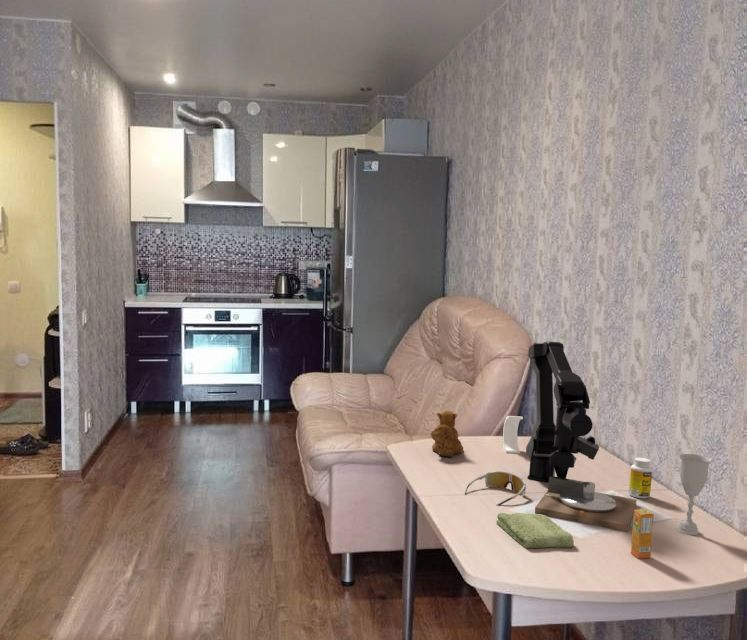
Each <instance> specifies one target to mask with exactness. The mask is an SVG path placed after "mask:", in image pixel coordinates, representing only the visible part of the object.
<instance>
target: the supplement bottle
mask: <svg viewBox="0 0 747 640" xmlns="http://www.w3.org/2000/svg"><path fill="white" fill-rule="evenodd" d="M653 471H654V470H653V468H652V467H651V460H650V459H649V458H646V457H645V458H644V457H635V459H634V464H632V465H631V466H630V475H629V477H630V478H629V485H628V487H629V488H628V494H629V496H631V497H633V498H637V499H643V500H644V499H645V500H646V499H648V498H649V497H650V496H651V489H652V479H653Z"/></svg>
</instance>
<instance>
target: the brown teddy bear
mask: <svg viewBox="0 0 747 640" xmlns="http://www.w3.org/2000/svg"><path fill="white" fill-rule="evenodd" d="M436 416H437V418H438V419H437V421H439V425H437V426H436V427H435V428H434V429H433V430H432V431H431V432H430V433H429V434H430V435H431V436H430V438H431V439H432V440H433V441H434V443H433V444H432V446H431V450H432V451H433V452H434V453H437V454H439V456H441V457H449V458H452V457H453V456H454V455H459V454H462V453H463V451H464V446H463V445H462V442H461V441H460V439H459V432H458V430H457V429H456V427H455V425H456V419H457V417H458V413H456V412H452V411H450V410H445V411H442V412H441V413H440V412H437V413H436Z"/></svg>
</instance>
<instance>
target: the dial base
mask: <svg viewBox="0 0 747 640" xmlns="http://www.w3.org/2000/svg"><path fill="white" fill-rule="evenodd" d="M596 492H597V491H596ZM597 493H599V492H597ZM600 493H601V494H604V495H607V496H609V497H611V498H613V499H614V500H615V501H616V509H614V510H613V511H609V512H590V511H583V510H579V509H575V508H572V507H569V506H567V505H565V504H563V503H562V502H561V501H560V500H559V497H560V494H555V493H549V492H548V490H546V492H545V494H544V495H543V497H542V498H541V499H540V500H539V502H538V503H537V504H536V505H535V507H534V514H541V515H545V516H547V517H553V518H558V519H563V520H568V521H572V522H573V521H574V522H578V523H583V524H588V525H591V526H592V525H593V526H597V527H603V528H607V529H612V530H613V529H614V530H618V531H623V532H628V531H629V527H630V525H631V522H632V520H633V519H632V518H633V517H634V510H636V507H637V499H635V498H630V497H625V496H619V495H613V494H608V493H602V492H600Z"/></svg>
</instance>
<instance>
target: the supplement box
mask: <svg viewBox="0 0 747 640" xmlns="http://www.w3.org/2000/svg"><path fill="white" fill-rule="evenodd" d="M632 520H633V522H632V530H631V531H632V532H631V545H630V554H631V555H633V556H634V557H636V559H639V560H640V559H651V555H652V543H653V542H652V541H653V529H654V528H653V526H654V525H653V524H654V513H653V512H651V511H650V510H649V509H647V508H641V509H635V510H634V513H633V519H632Z"/></svg>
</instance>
